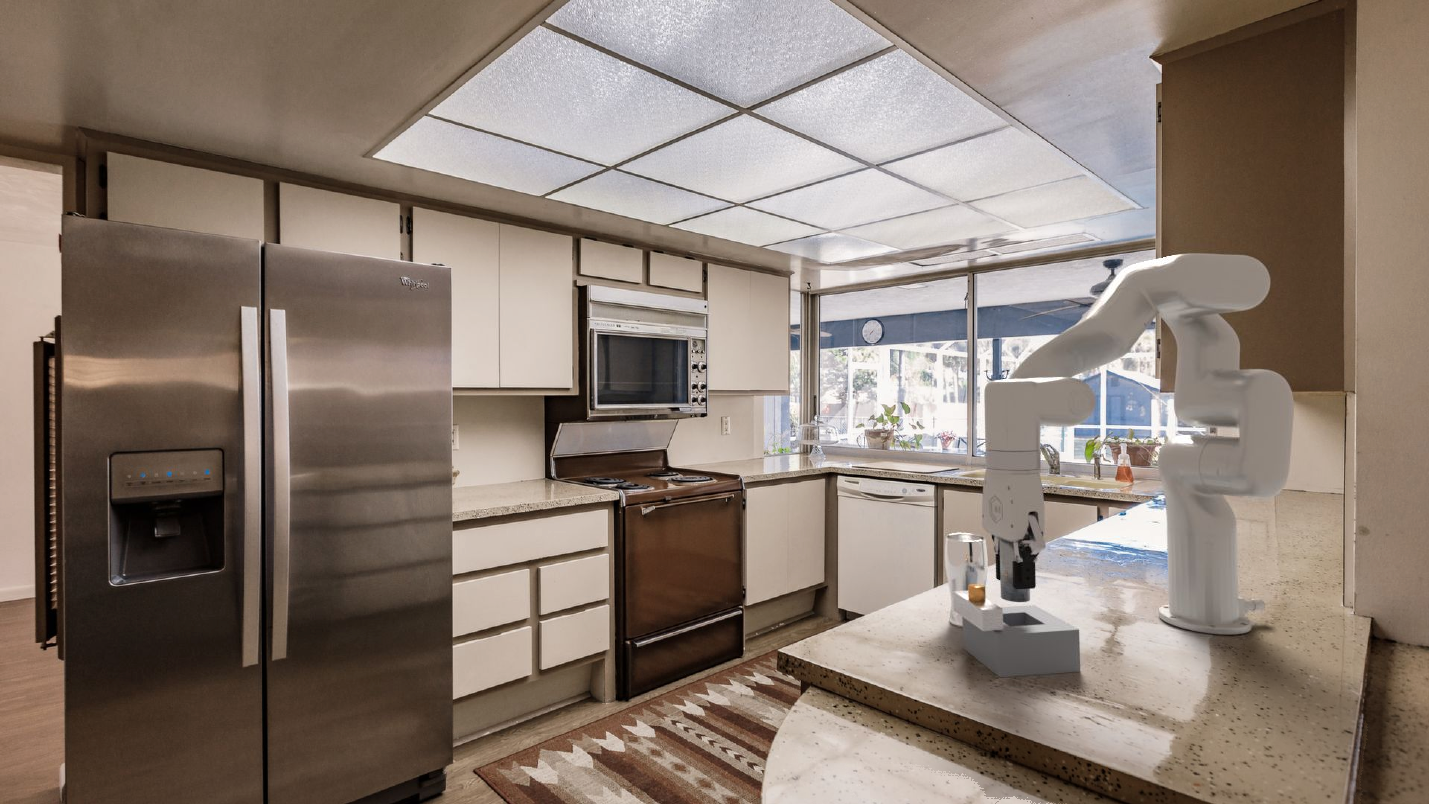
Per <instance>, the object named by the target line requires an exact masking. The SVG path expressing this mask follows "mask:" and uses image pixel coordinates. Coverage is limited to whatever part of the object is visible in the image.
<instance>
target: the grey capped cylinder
mask: <svg viewBox="0 0 1429 804" xmlns="http://www.w3.org/2000/svg"><path fill="white" fill-rule="evenodd" d="M996 538H997V539H1000V580H999V581H1000V599H1003V600H1004V601H1006V602H1007V601H1008V602H1012V603H1027V602H1030V600H1031V589H1015V588H1014V587H1013V565H1012V561H1016V560H1015V553H1014V545H1013V542H1010V541H1007V540H1004V539H1002V538H1000V537H998V536H996ZM1020 540H1029V536H1024V538H1023V539H1020ZM1025 546H1028V544H1021V547H1022V550H1023V549H1024V547H1025Z"/></svg>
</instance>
